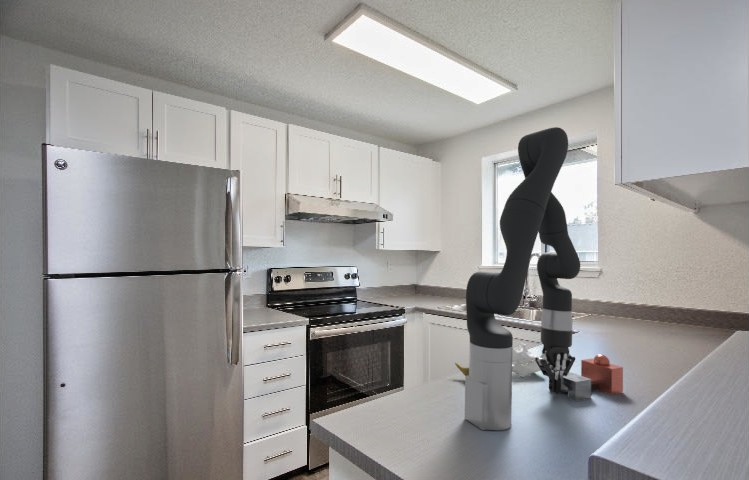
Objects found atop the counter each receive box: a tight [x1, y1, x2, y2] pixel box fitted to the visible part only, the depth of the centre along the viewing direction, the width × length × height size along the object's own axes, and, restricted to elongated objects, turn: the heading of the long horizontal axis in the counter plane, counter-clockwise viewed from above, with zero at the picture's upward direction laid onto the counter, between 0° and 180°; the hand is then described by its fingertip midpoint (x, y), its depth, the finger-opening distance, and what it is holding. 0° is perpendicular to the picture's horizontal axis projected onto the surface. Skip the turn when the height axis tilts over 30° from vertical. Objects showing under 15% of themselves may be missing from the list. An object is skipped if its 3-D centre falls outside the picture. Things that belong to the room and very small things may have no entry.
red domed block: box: [580, 354, 624, 396], centre depth 104 cm, size 11×9×10 cm
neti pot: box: [454, 362, 469, 377], centre depth 107 cm, size 4×15×6 cm, turn 44°
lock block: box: [560, 371, 592, 402], centre depth 100 cm, size 6×8×5 cm
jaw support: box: [512, 342, 541, 378], centre depth 117 cm, size 12×9×10 cm
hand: (554, 392), depth 98 cm, fingers closed
